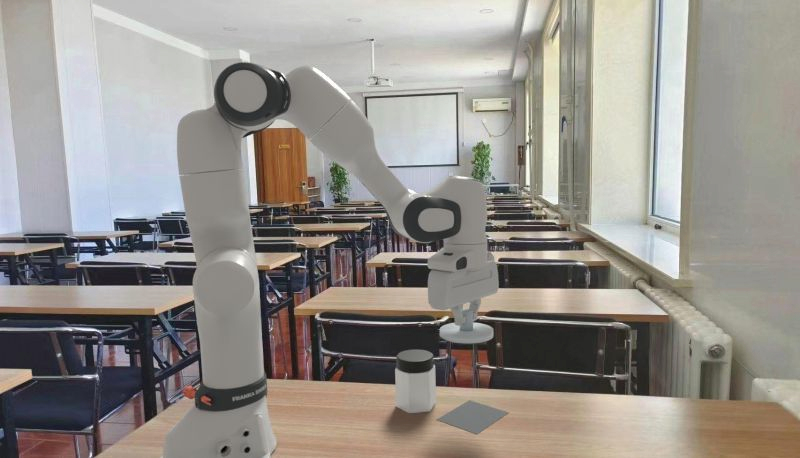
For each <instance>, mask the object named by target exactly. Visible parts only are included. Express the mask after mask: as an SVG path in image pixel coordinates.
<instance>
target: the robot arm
mask: <svg viewBox="0 0 800 458" xmlns="http://www.w3.org/2000/svg"><path fill="white" fill-rule="evenodd" d="M213 97H214V101H215V102H214V103H213V105H212V106H211V107H208V108H206V109H198V110H197V109H196V110H194V111H190V112H189V113H187V114H185V115H184V116H182V118H180V120H179V122H178V125H177V129H176V157H177V159H176V160H177V167H178V175H179V176H178V177H179V181H180V189H181V196H182V203H183V209H184V215H185V220H186V221H185V222H186V223H187V226H188V231H189V234H190V239H191V244H192V247H193V253H194V257H195V264H196V268H195V272H194V274H193V277H192V290H193V291H192V293H193V298H194V299H193V300H194V309H195V317H196V324H197V331H198V337H199V347H200V358H201V360H200V361H201V373H202V374H201V375H202V380H201V382H200V384H199V387H198V389H197V388H196V387H193V386H191V385H187V386H185V387H184V389H183V390H182V394H183V397H186V398H187V399H189V400H193V399H194V404H193V405H192V406H191V408H190V409H189V410H188V411H187V412H186V413H185V414H184V415H183V416H182V417H181V418H180V419H179V421H178V422H177V423H175V424H174V426H173V427H171V429H170V430H169V431H168V432H167V433H166V435H165V438H164V441H163V445H162V446H163V448H162V455H161V456H160V457H159V458H272V457H271V455H272V453H273V452H274V450H275V449H276V448H277V444H278V442H277V438H276V435H275V433H274V431H273V427H272V424H271V420H270V415H269V409H268V402H267V396H268V382H267V381H268V380H267V373H266V372H265V369H264V352H263V351H264V350H263V337H262V335H263V333H262V316H261V315H262V314H261V297H260V296H261V295H260V294H261V293H260V278H259V272H258V263H257V262H258V261H257V256H256V255H257V254H256V249H255V243H254V234H253V229H252V223H251V222H252V221H251V213H250V207H249V200H248V192H247V184H246V179H245V172H244V165H243V159H242V148H241V147H242V142H243V139H244V138H247V137H249V136H251V135H254V134H256V133H259V132H261V131H264V130H267V128H269V127H270V126H272V124H274V122H275V121H276V120H283V121H286V122H288V123H290V124H292V125H293V126H294V127H296V128H297V129H298V130H299V131H300V132H301V133H302V134H303V136H305V137H306V139H308V140H309V142H310V143H311V144H312V145H313V146H314V147H315V148H316V149H317V150H319V151H320V152H321V153H322V154H324V155H325V156H326V157H327V158H328V159H329V160H331V161H332V162H333V163H335V164H337V165H338V166H339V167H341V168H342V169H344V170H346V171H347V172H349V173H350V174H351V175H353V176H354V177H355V178H356V179H357V180H358V181H359V182H360V183H361V184H362V185H363V186H364V187H365V189H367V191H368V192H369V193H370V194H371V195H372V196H373V197H374V198H375V199H376V200H377V201H378V203H380V205H381V206H382V208H383V210H384V211H385V214H386V218H387V221H388V222H389V225H390V227H391V228H392V230H393V231H394V232H395V233H396V234H397V235H398V236H400V237H402V238H404V239H409V240H412V241H414V242H417V243H421V244H430V243H434V242H438V241H441V240H443V247H441V248H440V249H439V250H438V251H437V252H436V253H434V254H433V255H432V256H430V257H428V259H427V268H428V269H430V271H429V273H428V276H427V277H428V278H427V300H428V304H429V306H430V308H432V309H434V310H437V311H447V310H450V311H451V313H452V316H453V317H454V322H453V323H455V325H458V326H462V325H464V324H465V323H466V321H465V320H466V316H463V314H462V311H461V310H462V309H464V304H468V303H469V308H468V309H472V310H473V322H475V321H477V320H478V312H479V309H480V306H481V304H482V299H484V298H486V297H489V296H493V295H496V294H498V291H499V288H500V287H499V285H500V284H499V283H500V282H499V271H498V265H497V263H496V260H495V256H494V255H493V254H492V252H491V251H488V237H487V234H486V227H487V222H488V204H487V195H486V189H485V186H484V184H483V183H482V182H481V181H480V180H479V179H477V178H474V177H468V176H459V175H450V176H447V177H446V178H445V179H444V180H443V181H441V182H440V183H439V184H437V185H435V186H433V187H431V188H430V189H427V190H425V191H422V192H421V193H419V192H416V191H414V190H412V189H410V188H408V187H406V186H405V185H404V184H403V183H402V182H401V179H399V178H398V177H397V176H396V175H395V174H394V172H393V171H392V170H391V169H390V168H389V167H388V165H387V164H386V163H385V162H384V161H383V160H382V158H381V156H380V154H379V153H378V151H377V147H376V141H375V132H374V127H373V126H372V125H371V123H370V122H369V119H368V118H367V116H366V115H365V114H364V112H363V111H362V110H361V109H360V107H359V106H358V105H357V103H355V101H353V99H351V97H350V96H349V95H348V94H347V93H346V92H345V91H344V90H343V89H342V88H341V87H340V86H338V85H337V84H336V83H335V82H334V81H333V80H332V79H330V78H329V77H328V76H327V75H326V74H324V73H323V72H322V71H320V70H319V69H318V68H316V67H314V66H312V65H302V66H298V67H295V68H293V69H292V70H290V71H289V72H288V73H287V74H284V73H282V72H281V71H278V70H275V69H272V68H268V67H265V66H264V65H260V64H257V63H254V62H248V61H244V62H243V61H241V62H239V61H238V62H235V63H233V64H229V66H227V67H225V68H224V69H223V70H222V71H221V72H220V74H218V76H217V79H216V80H215V84H214V88H213Z"/></svg>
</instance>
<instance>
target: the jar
mask: <svg viewBox="0 0 800 458" xmlns="http://www.w3.org/2000/svg"><path fill="white" fill-rule="evenodd" d="M394 377H395V403H396V405H395V406H396V408H398V409H400V410H402V411H404V412H406V413H407V414H415V413H425V412H431V411H432V409H433V408H434V406H435V405H436V403H437V394H436V393H437V387H436V384H437V383H436V381H437V379H436V365H435V360H434V354H433V353H432V352H430V351H429V350H425V349H408V350H403V351H400V352H398V353H397V354H396V367H395V369H394Z"/></svg>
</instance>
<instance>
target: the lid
mask: <svg viewBox="0 0 800 458" xmlns="http://www.w3.org/2000/svg"><path fill="white" fill-rule="evenodd" d="M461 311H462V314H463V316H466V320H465V321H466V323H465V324H464V325H462V326H458V325H455V323H454V322H451V323H447V324H444V325H442V326H441V327H439V337H440V338H441V339H443V340H445V341H448V342H450V343H457V344H479V343H485V342H489V341H490V340H492V339H493V338H494V328H493V327H492V326H491V325H488V324H486V323H485V324H484V323H481V322H475V321H473V310H472V309H469V308H463V309H462V310H461Z"/></svg>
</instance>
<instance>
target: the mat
mask: <svg viewBox="0 0 800 458" xmlns="http://www.w3.org/2000/svg"><path fill="white" fill-rule="evenodd" d="M508 414H510V412H508V411H506V410H502V409H498V408H496V407H493V406H489V405H487V404H483V403H479V402H476V401H474V400H467V401H465V402H464V403H462V404H460V405H459V406H456V407H455V408H454V409H452V410H450V411H449V412H446V413H445V414H443V415H442V416H440V417H438V418H436V421H438V422H441V423H445V424H447V425H449V426H452V427H455V428H458V429H461V430H463V431H466V432H468V433H472V434H474V435H478V434H480V433H481V432H483V431H484V430H486V429H487V428H489V427H491V426H492V425H493V424H495V423H496V422H498V421H499V420H500V419H502V418H504V417H505V416H507V415H508Z"/></svg>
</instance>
